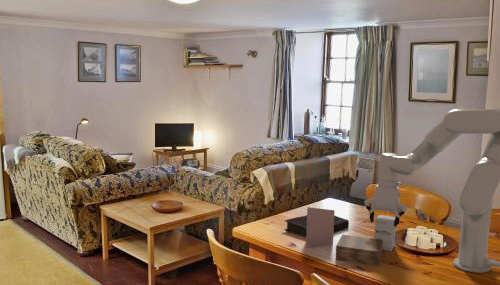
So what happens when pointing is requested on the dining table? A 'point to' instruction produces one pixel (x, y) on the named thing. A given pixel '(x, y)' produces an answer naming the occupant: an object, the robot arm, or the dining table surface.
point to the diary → (300, 225)
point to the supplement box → (385, 231)
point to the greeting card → (319, 227)
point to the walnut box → (359, 250)
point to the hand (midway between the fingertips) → (383, 223)
